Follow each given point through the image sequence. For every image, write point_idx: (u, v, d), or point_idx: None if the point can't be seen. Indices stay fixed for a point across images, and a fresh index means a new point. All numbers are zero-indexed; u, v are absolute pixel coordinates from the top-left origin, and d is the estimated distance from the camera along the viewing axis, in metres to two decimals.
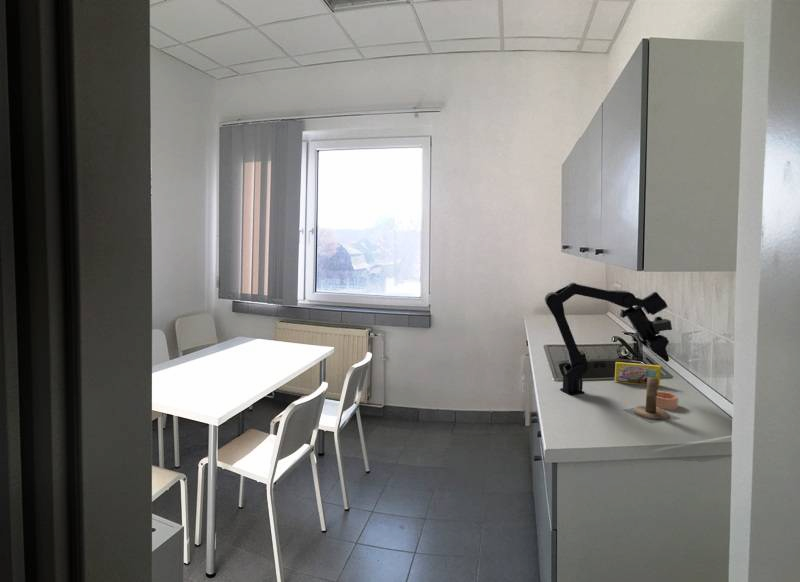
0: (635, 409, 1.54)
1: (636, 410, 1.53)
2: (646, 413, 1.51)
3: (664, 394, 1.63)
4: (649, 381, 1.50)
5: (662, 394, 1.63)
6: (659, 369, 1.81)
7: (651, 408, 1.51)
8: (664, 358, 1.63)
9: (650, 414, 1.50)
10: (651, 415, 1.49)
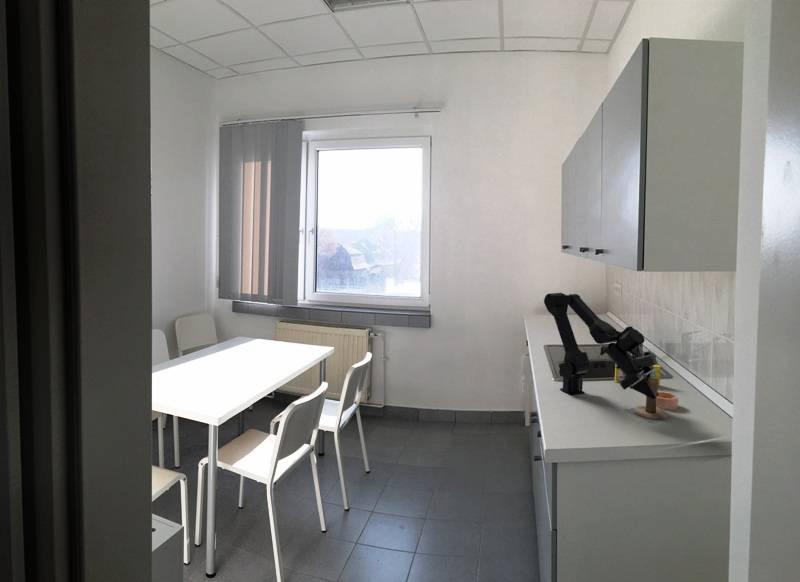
0: (635, 409, 1.54)
1: (636, 410, 1.53)
2: (646, 413, 1.51)
3: (664, 394, 1.63)
4: (649, 381, 1.50)
5: (662, 394, 1.63)
6: (659, 369, 1.81)
7: (651, 407, 1.51)
8: (649, 395, 1.50)
9: (650, 414, 1.50)
10: (651, 415, 1.49)
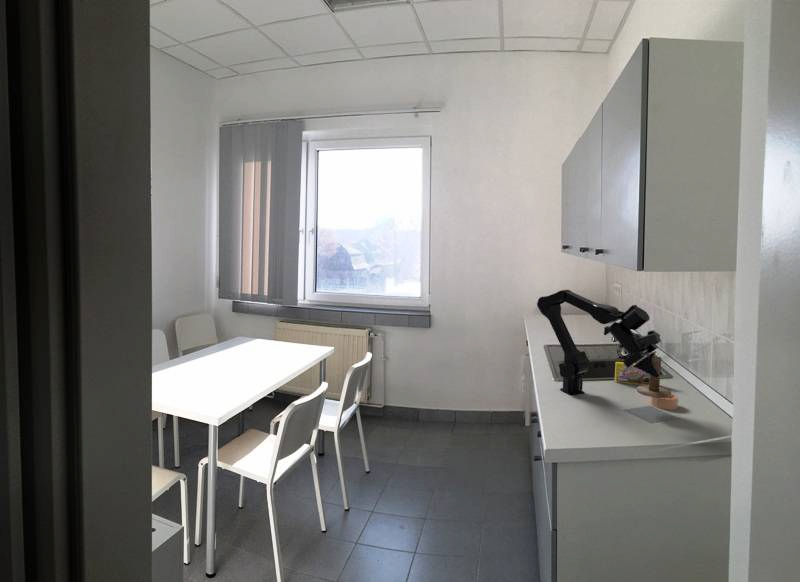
0: (638, 388, 1.55)
1: (639, 389, 1.54)
2: (649, 391, 1.51)
3: None
4: (652, 360, 1.51)
5: None
6: None
7: (654, 386, 1.51)
8: (652, 374, 1.51)
9: (653, 392, 1.51)
10: (654, 393, 1.50)
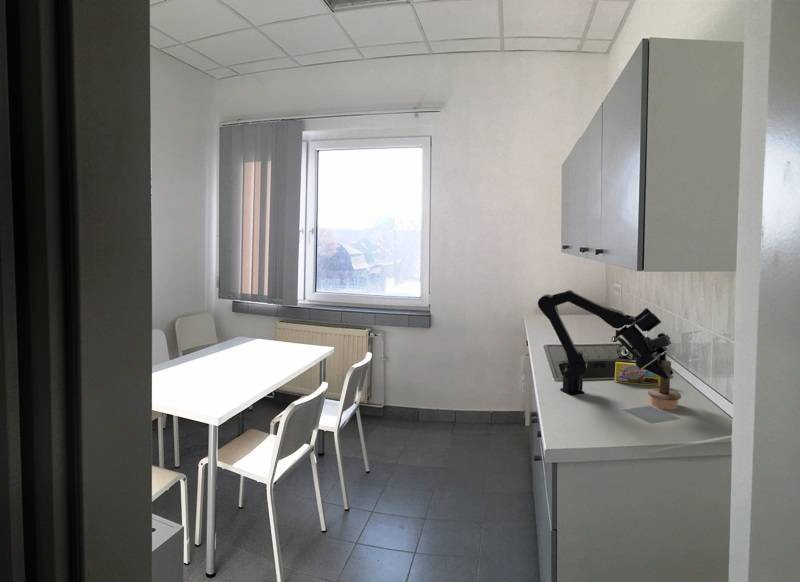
0: (649, 391, 1.62)
1: (650, 392, 1.61)
2: (660, 394, 1.58)
3: None
4: (663, 364, 1.58)
5: None
6: None
7: (665, 389, 1.58)
8: (662, 375, 1.56)
9: (664, 395, 1.57)
10: (665, 396, 1.57)
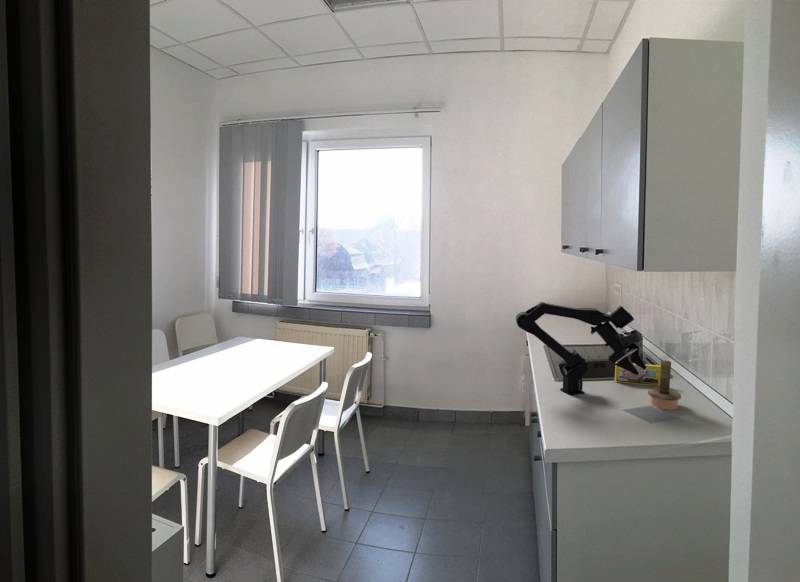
0: (649, 391, 1.62)
1: (650, 392, 1.61)
2: (660, 394, 1.58)
3: None
4: (663, 364, 1.58)
5: None
6: (659, 369, 1.81)
7: (665, 389, 1.58)
8: (632, 371, 1.61)
9: (664, 395, 1.57)
10: (665, 396, 1.57)
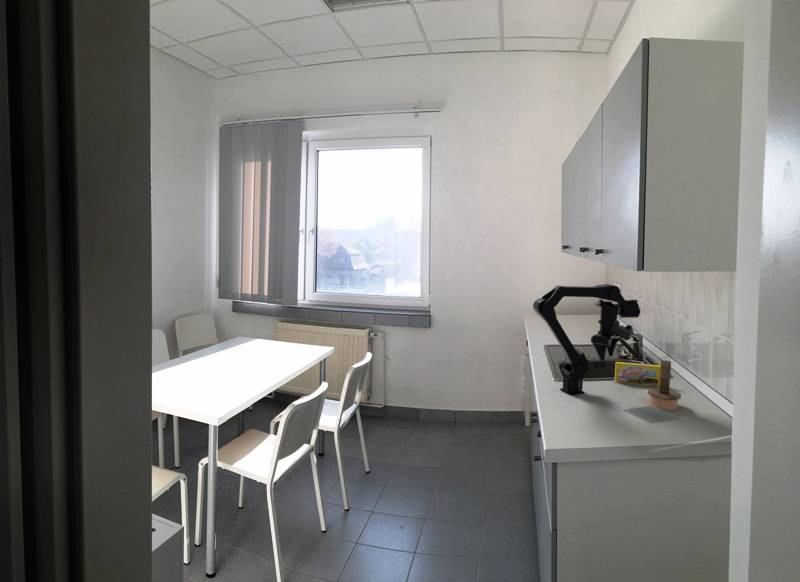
0: (649, 391, 1.62)
1: (650, 392, 1.61)
2: (660, 394, 1.58)
3: None
4: (663, 364, 1.58)
5: None
6: (659, 369, 1.81)
7: (665, 389, 1.58)
8: (600, 356, 1.71)
9: (664, 395, 1.57)
10: (665, 396, 1.57)
